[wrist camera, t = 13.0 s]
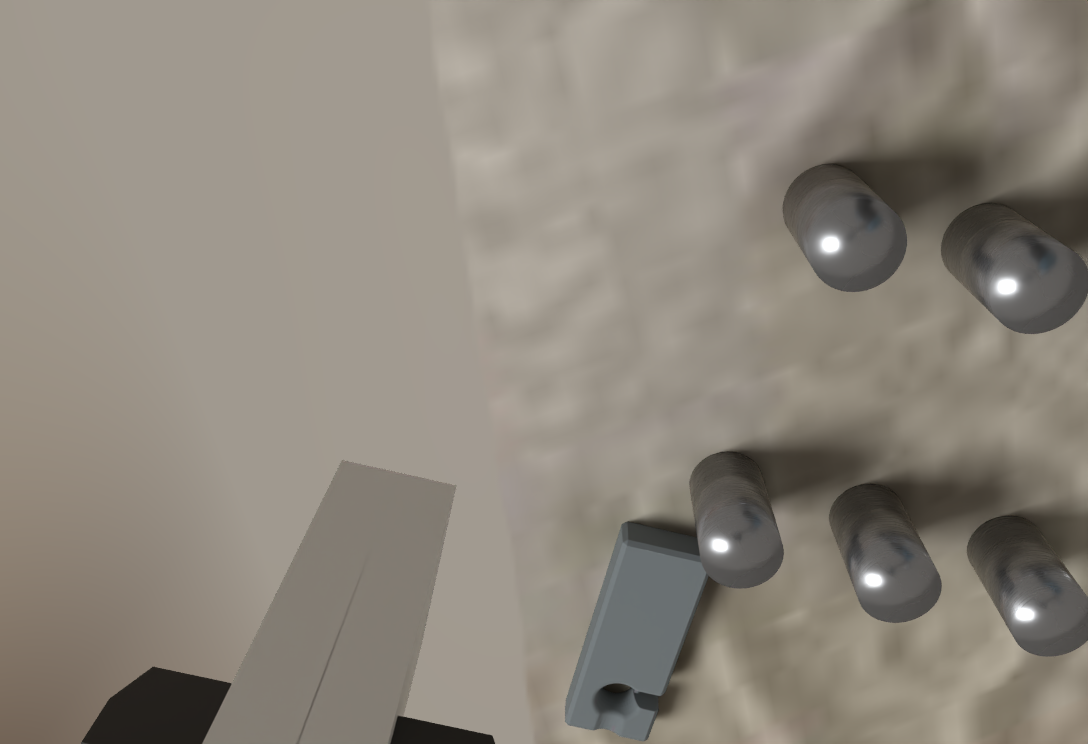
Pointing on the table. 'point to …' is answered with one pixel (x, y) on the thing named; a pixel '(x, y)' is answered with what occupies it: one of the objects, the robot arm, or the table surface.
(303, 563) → the robot arm
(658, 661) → the bracket
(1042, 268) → the spacer field
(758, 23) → the table surface
